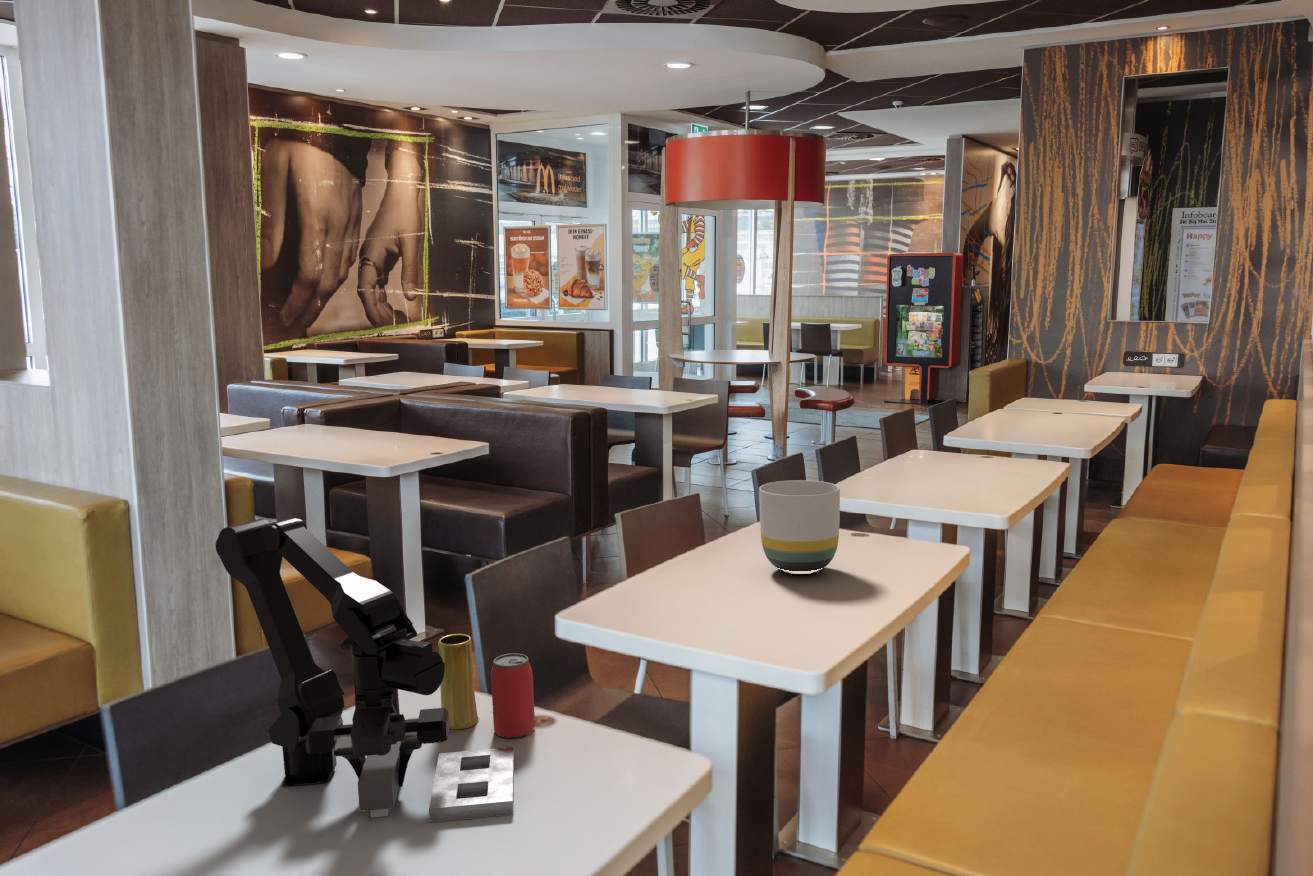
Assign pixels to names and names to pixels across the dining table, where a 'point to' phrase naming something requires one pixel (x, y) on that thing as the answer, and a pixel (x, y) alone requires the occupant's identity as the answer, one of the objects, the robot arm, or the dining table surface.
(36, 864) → the dining table surface
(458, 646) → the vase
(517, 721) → the beer can
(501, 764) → the mount plate
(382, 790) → the grey rectangular block
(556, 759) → the dining table surface
